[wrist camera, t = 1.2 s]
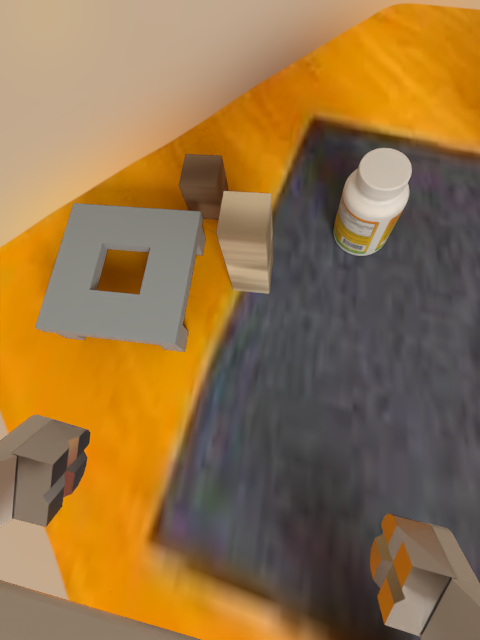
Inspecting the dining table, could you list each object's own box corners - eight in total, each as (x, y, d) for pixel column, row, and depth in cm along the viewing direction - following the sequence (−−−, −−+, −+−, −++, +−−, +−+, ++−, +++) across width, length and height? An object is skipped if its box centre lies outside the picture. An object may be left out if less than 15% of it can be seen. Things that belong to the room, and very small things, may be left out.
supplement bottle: (376, 205, 39) (407, 132, 30) (394, 250, 37) (432, 187, 28) (326, 217, 39) (341, 149, 30) (341, 262, 37) (362, 204, 28)
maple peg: (238, 257, 39) (223, 190, 28) (273, 260, 38) (271, 193, 28) (233, 290, 38) (216, 232, 27) (269, 293, 37) (265, 236, 27)
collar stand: (94, 227, 41) (73, 203, 37) (208, 236, 40) (200, 211, 35) (62, 340, 38) (35, 327, 33) (187, 355, 36) (175, 343, 32)
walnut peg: (197, 189, 42) (185, 154, 36) (228, 191, 41) (221, 155, 36) (191, 217, 41) (178, 185, 35) (224, 219, 40) (215, 187, 35)
